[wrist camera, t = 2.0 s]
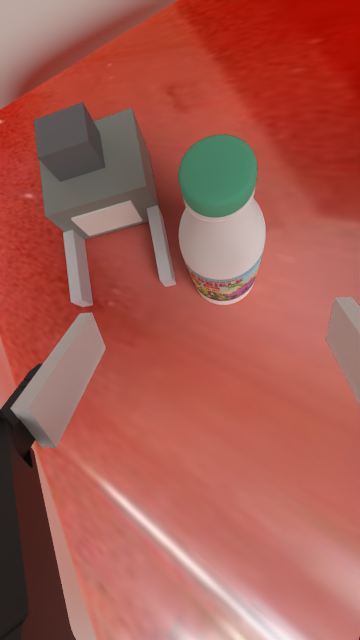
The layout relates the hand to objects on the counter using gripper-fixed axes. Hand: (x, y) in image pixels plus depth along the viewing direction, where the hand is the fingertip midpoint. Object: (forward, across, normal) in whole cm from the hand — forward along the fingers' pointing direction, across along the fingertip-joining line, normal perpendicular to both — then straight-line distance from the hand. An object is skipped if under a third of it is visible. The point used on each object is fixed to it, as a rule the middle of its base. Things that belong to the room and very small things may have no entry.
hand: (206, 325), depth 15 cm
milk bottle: (+20, +1, -7) cm, 21 cm away
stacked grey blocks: (+26, -14, -1) cm, 29 cm away
